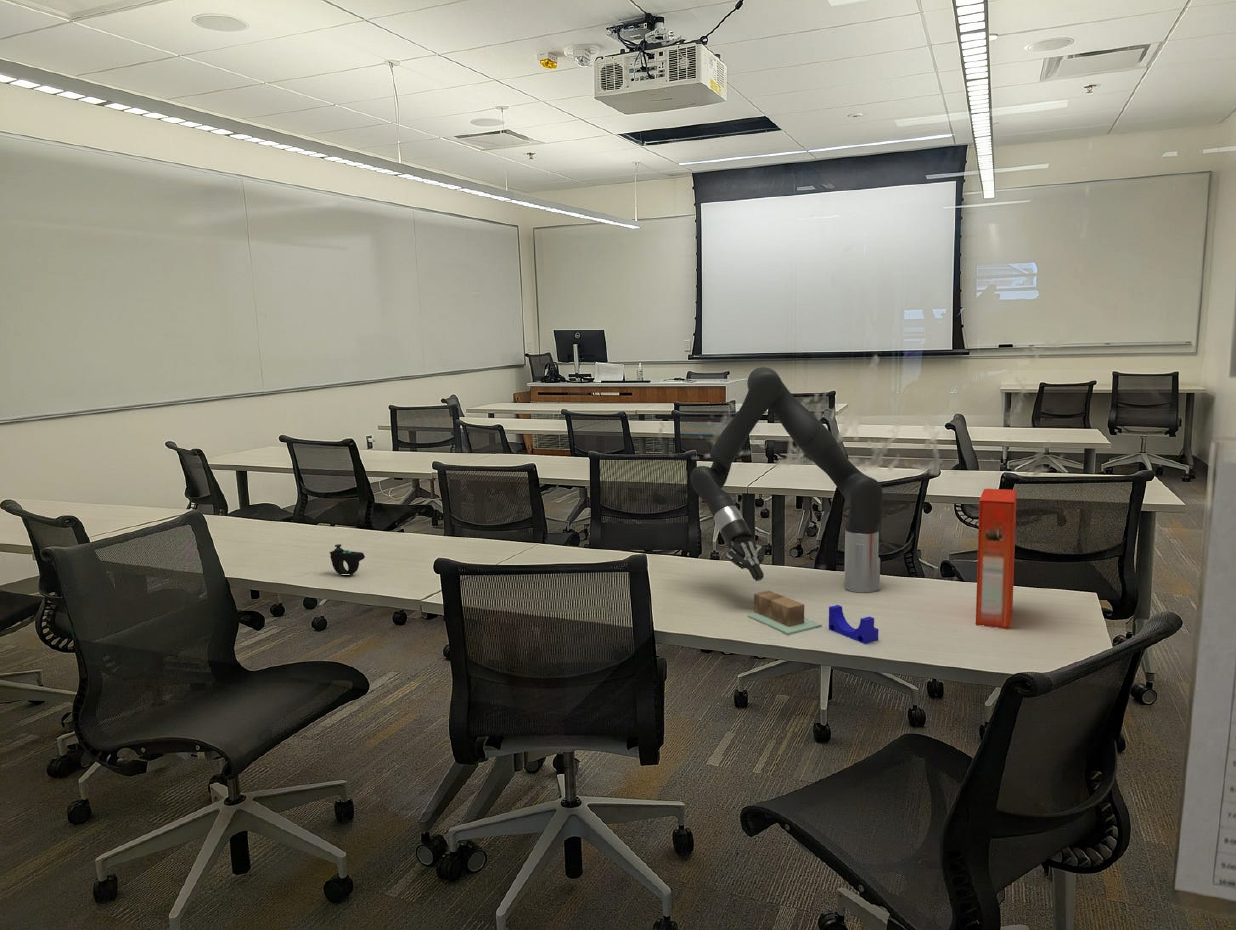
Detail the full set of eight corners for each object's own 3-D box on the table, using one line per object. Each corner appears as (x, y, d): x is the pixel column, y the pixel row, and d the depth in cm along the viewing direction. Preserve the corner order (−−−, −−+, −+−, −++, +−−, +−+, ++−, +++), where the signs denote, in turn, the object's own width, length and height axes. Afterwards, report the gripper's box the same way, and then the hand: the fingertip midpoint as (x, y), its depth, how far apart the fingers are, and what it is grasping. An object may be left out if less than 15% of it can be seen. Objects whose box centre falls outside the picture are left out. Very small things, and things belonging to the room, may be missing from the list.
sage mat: (747, 616, 212) (747, 614, 212) (780, 609, 217) (780, 607, 217) (788, 634, 198) (788, 632, 198) (821, 626, 203) (821, 624, 203)
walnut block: (754, 593, 214) (789, 607, 202) (768, 590, 216) (804, 604, 204) (754, 611, 214) (789, 626, 202) (768, 608, 217) (804, 623, 205)
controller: (338, 572, 266) (336, 542, 264) (368, 575, 261) (365, 545, 259) (329, 575, 262) (326, 545, 260) (359, 579, 257) (356, 548, 255)
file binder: (974, 624, 202) (979, 499, 197) (979, 604, 217) (984, 488, 212) (1009, 629, 198) (1015, 502, 193) (1012, 608, 213) (1018, 490, 208)
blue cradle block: (878, 640, 193) (878, 616, 192) (864, 644, 191) (865, 620, 190) (841, 626, 204) (842, 603, 203) (828, 629, 201) (828, 606, 201)
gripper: (718, 521, 218) (746, 575, 209) (756, 515, 224) (785, 568, 215) (707, 536, 223) (734, 590, 214) (744, 530, 229) (772, 582, 221)
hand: (760, 579), depth 215 cm, fingers closed
